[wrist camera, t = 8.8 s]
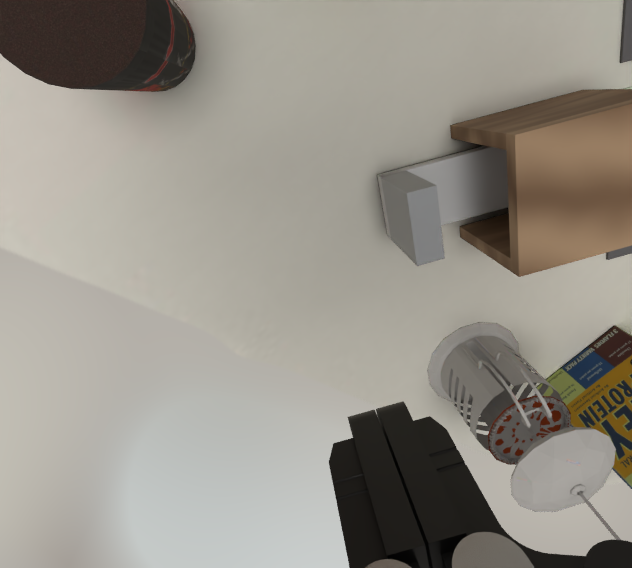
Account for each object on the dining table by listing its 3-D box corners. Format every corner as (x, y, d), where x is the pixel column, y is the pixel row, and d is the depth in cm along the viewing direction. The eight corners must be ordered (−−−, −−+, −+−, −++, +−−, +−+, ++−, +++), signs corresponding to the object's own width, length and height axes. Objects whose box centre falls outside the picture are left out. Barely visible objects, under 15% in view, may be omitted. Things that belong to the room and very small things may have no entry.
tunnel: (450, 125, 33) (515, 135, 25) (583, 89, 34) (689, 88, 25) (460, 237, 37) (519, 276, 29) (578, 204, 38) (669, 234, 30)
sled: (377, 174, 34) (406, 193, 27) (706, 85, 34) (809, 83, 28) (387, 235, 36) (417, 265, 29) (697, 150, 37) (790, 162, 30)
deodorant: (211, 29, 29) (176, -30, 15) (170, 109, 30) (106, 121, 17) (125, -33, 27) (-6, -167, 13) (86, 56, 28) (-65, 20, 15)
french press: (443, 417, 46) (633, 732, 23) (408, 335, 41) (604, 635, 18) (528, 377, 45) (807, 662, 23) (502, 290, 40) (825, 542, 18)
